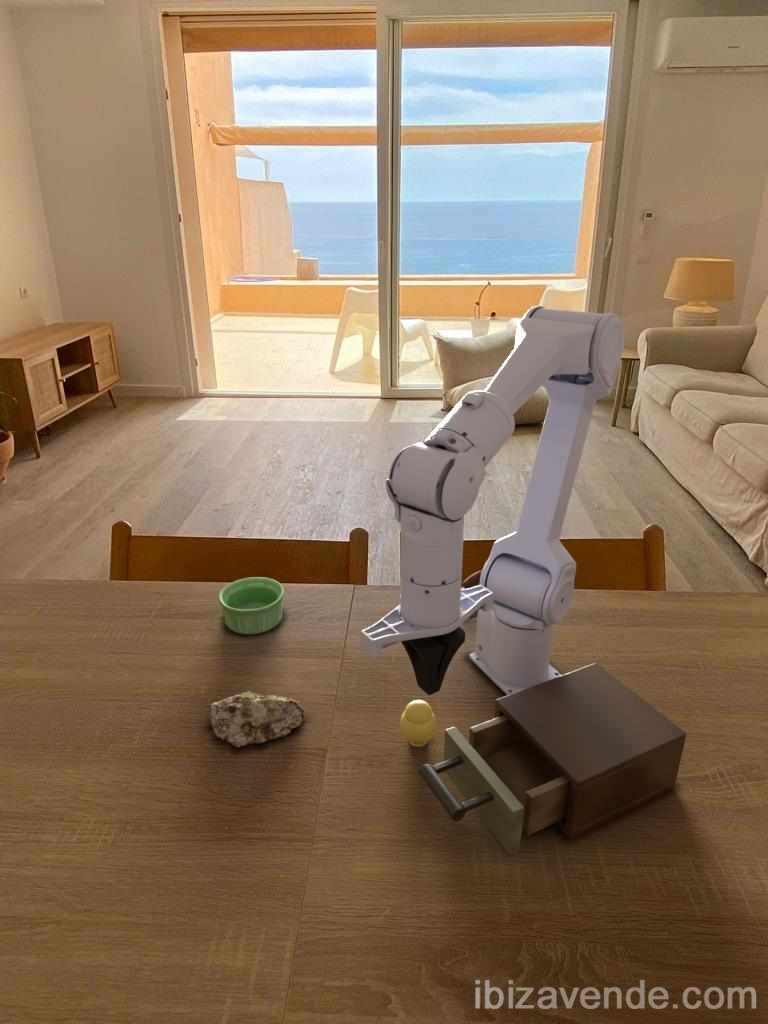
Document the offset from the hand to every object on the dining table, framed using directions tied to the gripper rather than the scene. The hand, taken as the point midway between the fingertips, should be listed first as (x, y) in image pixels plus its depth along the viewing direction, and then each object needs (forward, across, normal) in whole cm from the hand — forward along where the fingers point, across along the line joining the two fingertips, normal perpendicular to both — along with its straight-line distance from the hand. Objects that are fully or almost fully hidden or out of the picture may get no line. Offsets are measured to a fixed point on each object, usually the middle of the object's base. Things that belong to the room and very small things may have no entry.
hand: (428, 687), depth 70 cm
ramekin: (+10, +4, -35) cm, 37 cm away
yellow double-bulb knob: (+9, -1, -3) cm, 10 cm away
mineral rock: (+10, +13, -15) cm, 22 cm away
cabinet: (+9, -12, +10) cm, 19 cm away
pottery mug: (+10, -25, -16) cm, 31 cm away
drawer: (+8, -3, +9) cm, 13 cm away
